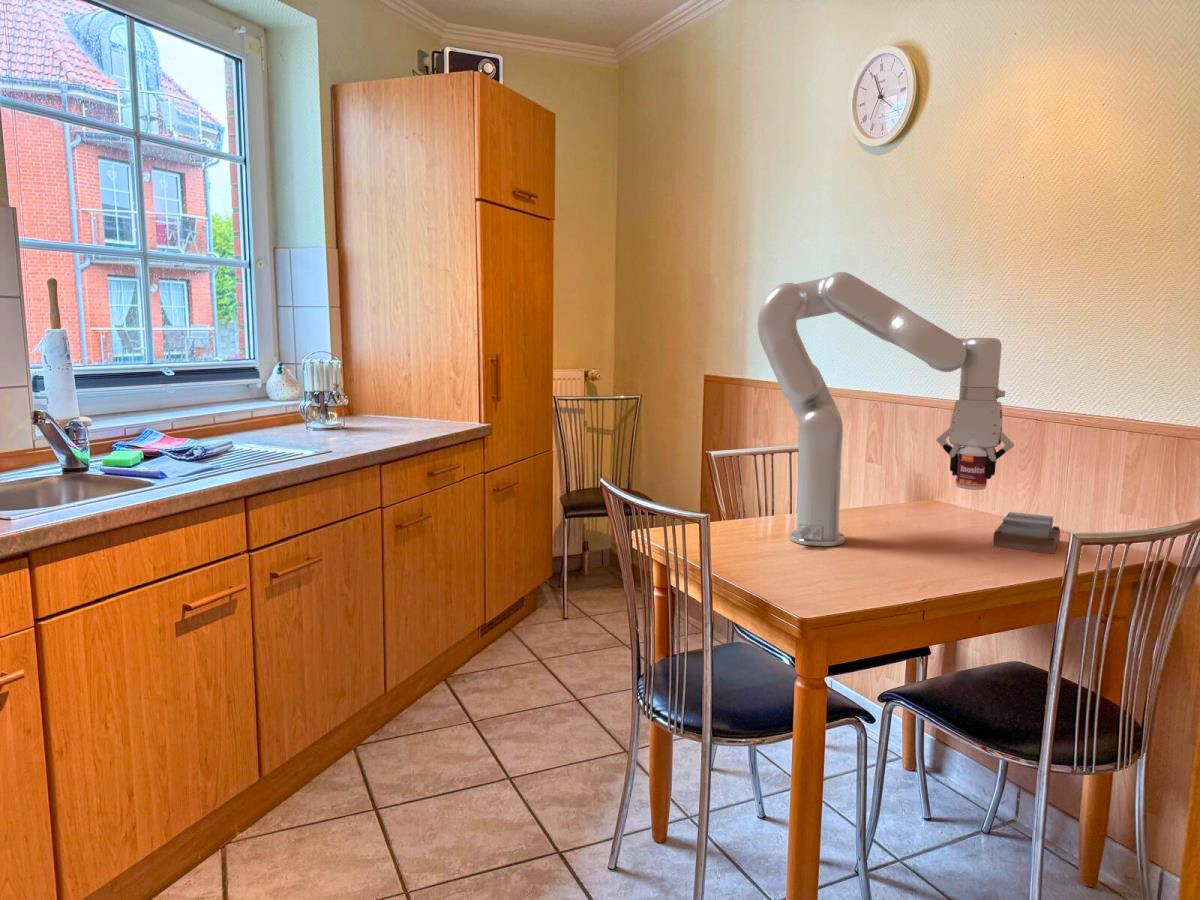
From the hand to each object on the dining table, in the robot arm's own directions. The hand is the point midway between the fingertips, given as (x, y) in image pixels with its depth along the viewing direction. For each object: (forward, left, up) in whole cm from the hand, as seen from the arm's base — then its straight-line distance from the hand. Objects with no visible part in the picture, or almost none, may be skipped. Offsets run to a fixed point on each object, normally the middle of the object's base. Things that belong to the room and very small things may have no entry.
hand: (971, 475), depth 180 cm
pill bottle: (0, 0, -3) cm, 3 cm away
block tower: (+11, -10, -17) cm, 22 cm away
